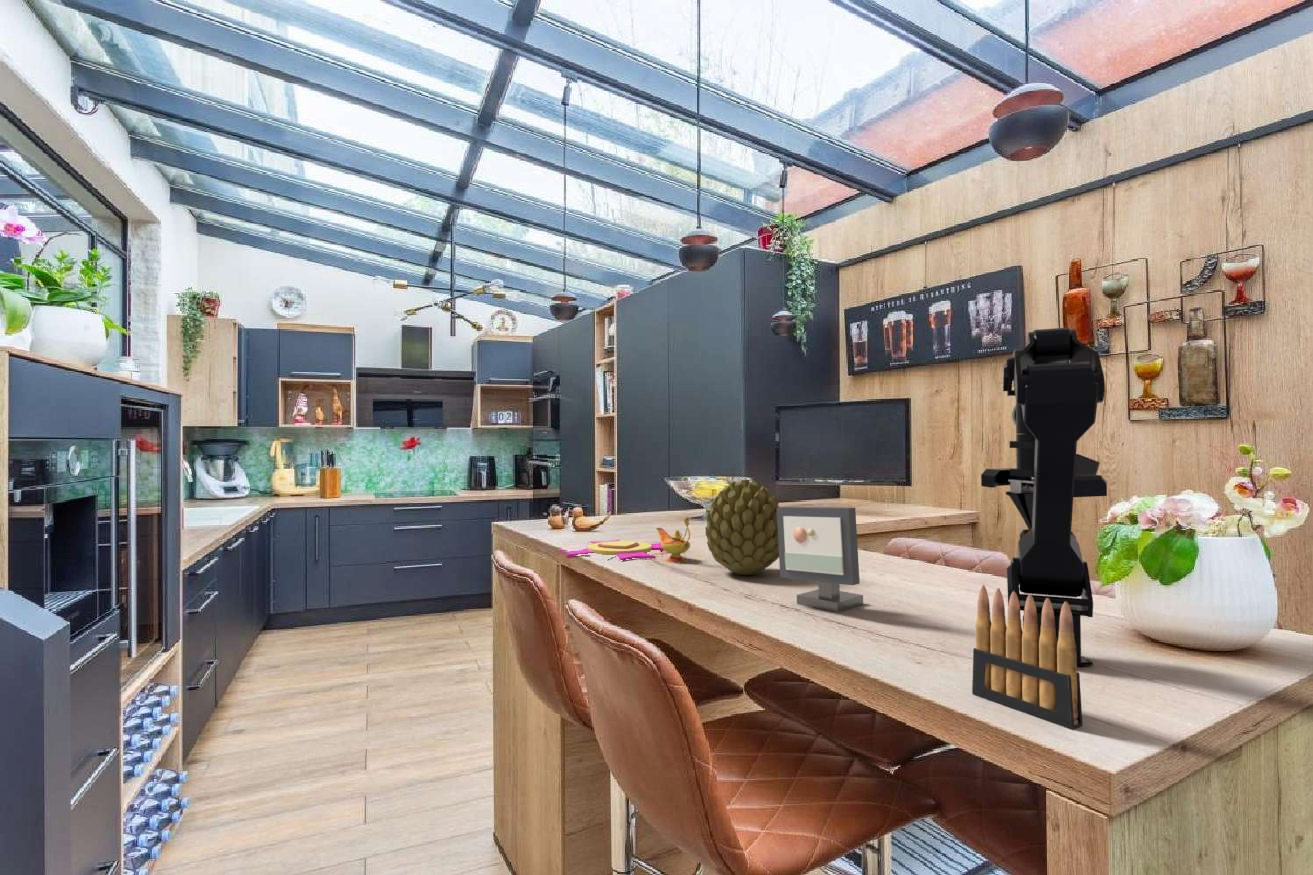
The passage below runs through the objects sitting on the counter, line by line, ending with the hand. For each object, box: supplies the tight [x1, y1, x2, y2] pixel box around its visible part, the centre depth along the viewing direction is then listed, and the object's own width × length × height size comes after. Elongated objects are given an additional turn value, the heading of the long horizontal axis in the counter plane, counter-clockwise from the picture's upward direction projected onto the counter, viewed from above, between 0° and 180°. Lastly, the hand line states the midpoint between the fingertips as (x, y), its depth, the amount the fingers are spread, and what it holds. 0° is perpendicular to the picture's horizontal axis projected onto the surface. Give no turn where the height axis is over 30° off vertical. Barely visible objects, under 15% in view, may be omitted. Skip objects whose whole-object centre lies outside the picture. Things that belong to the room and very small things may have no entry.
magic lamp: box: [655, 516, 691, 563], centre depth 160 cm, size 7×18×11 cm, turn 24°
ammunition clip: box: [971, 584, 1084, 730], centre depth 69 cm, size 11×2×12 cm, turn 30°
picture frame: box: [777, 506, 861, 586], centre depth 110 cm, size 14×2×12 cm, turn 43°
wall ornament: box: [558, 539, 669, 561], centre depth 174 cm, size 30×2×30 cm
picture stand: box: [796, 582, 864, 613], centre depth 115 cm, size 8×8×14 cm
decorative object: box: [705, 479, 781, 576], centre depth 142 cm, size 17×17×20 cm
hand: (1039, 540), depth 98 cm, fingers closed
